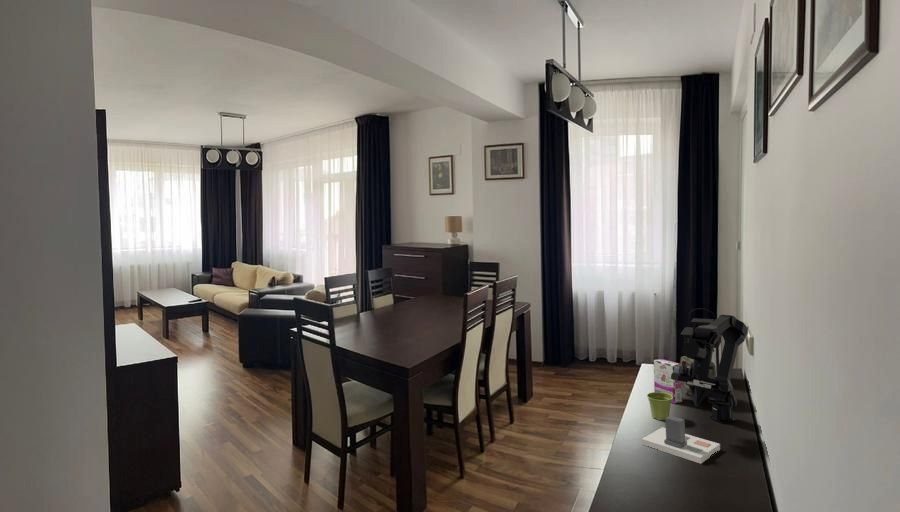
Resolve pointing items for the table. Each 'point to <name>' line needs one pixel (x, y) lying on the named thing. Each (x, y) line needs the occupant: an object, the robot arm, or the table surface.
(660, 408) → the plant pot
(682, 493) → the table surface
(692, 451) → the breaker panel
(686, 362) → the tabletop clock
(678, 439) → the handle
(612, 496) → the table surface
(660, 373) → the candy bar box
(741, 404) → the table surface
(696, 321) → the lantern
